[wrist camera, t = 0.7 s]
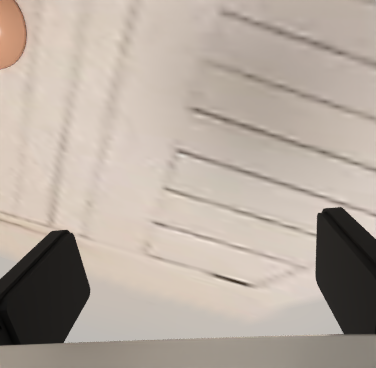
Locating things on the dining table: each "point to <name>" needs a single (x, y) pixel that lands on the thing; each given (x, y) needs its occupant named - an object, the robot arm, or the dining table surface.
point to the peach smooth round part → (11, 33)
